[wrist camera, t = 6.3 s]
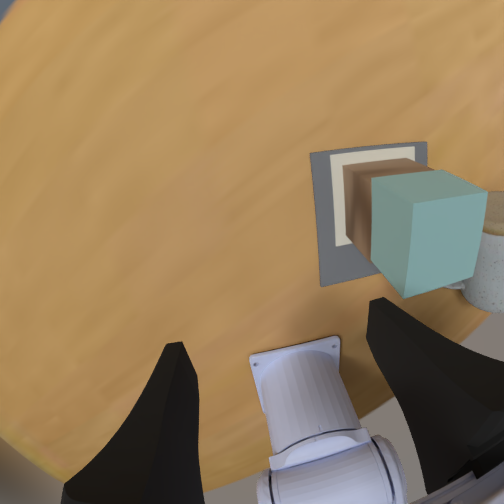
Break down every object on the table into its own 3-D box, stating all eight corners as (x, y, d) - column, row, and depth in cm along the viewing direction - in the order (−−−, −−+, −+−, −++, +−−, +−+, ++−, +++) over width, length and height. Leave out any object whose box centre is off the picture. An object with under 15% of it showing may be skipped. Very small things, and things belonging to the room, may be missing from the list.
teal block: (435, 244, 18) (472, 276, 14) (370, 259, 18) (403, 298, 14) (442, 169, 15) (487, 191, 12) (371, 177, 15) (413, 203, 12)
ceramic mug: (499, 178, 21) (559, 211, 14) (497, 251, 25) (544, 291, 18) (413, 215, 22) (475, 265, 15) (419, 293, 26) (464, 349, 19)
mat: (419, 261, 24) (420, 262, 23) (320, 285, 23) (321, 287, 23) (425, 141, 19) (428, 142, 19) (309, 153, 19) (311, 154, 18)
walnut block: (405, 223, 21) (435, 247, 18) (345, 235, 21) (370, 263, 18) (406, 157, 19) (441, 173, 16) (342, 165, 19) (370, 182, 15)
